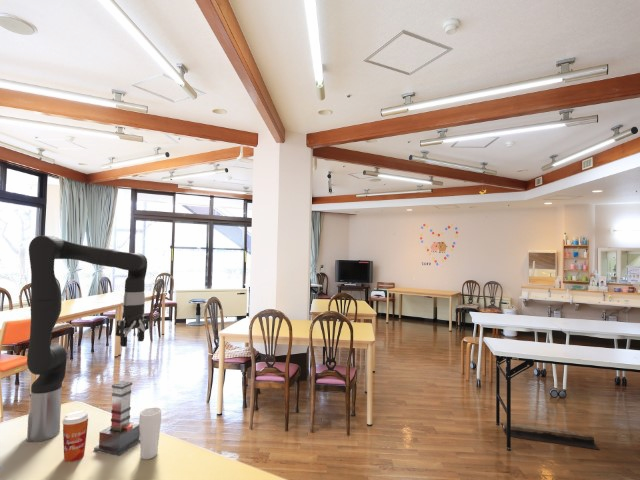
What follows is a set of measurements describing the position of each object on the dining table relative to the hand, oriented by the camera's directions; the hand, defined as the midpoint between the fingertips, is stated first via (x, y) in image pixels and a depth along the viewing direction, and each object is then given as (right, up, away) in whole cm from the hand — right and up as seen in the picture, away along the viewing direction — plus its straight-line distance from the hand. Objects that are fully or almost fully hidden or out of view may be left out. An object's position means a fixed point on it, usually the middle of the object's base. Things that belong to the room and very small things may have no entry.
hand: (132, 343), depth 139 cm
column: (+3, -28, -13) cm, 31 cm away
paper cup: (-8, -32, -21) cm, 39 cm away
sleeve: (+3, -33, -13) cm, 35 cm away
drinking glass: (+16, -33, -19) cm, 41 cm away
